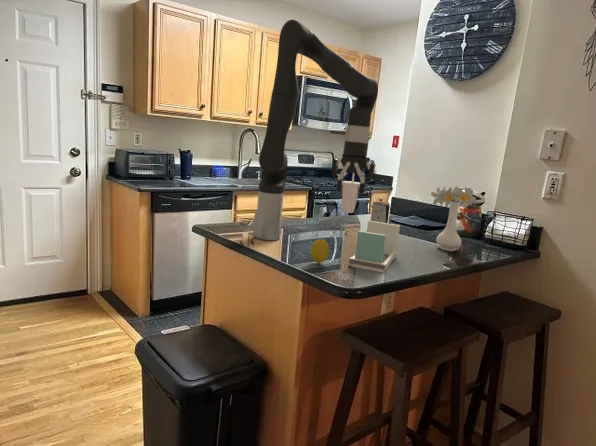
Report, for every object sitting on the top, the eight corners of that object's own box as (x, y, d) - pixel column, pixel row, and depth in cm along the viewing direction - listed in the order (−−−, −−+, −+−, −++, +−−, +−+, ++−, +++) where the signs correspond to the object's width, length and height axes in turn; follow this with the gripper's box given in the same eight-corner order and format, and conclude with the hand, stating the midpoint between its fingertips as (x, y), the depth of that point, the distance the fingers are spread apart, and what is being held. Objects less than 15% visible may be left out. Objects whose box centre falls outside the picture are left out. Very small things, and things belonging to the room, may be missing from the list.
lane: (348, 266, 132) (352, 231, 130) (364, 250, 154) (368, 220, 152) (383, 272, 129) (388, 237, 126) (395, 256, 150) (399, 225, 148)
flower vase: (435, 241, 180) (444, 182, 175) (475, 253, 165) (487, 189, 161) (415, 244, 172) (425, 182, 167) (456, 256, 158) (468, 189, 153)
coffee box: (384, 248, 160) (390, 205, 157) (367, 245, 161) (372, 203, 158) (384, 242, 169) (390, 202, 166) (368, 240, 170) (373, 200, 167)
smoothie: (345, 213, 136) (350, 169, 133) (334, 209, 142) (339, 167, 139) (361, 213, 139) (367, 170, 136) (350, 209, 145) (355, 168, 142)
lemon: (322, 267, 128) (324, 241, 127) (306, 263, 131) (308, 238, 129) (330, 264, 133) (333, 239, 131) (315, 260, 136) (317, 235, 134)
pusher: (354, 262, 133) (357, 231, 131) (354, 261, 134) (358, 230, 132) (380, 267, 130) (385, 235, 128) (381, 266, 131) (385, 235, 129)
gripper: (381, 143, 137) (374, 195, 140) (338, 139, 142) (332, 189, 145) (376, 142, 130) (369, 197, 133) (331, 138, 135) (325, 191, 138)
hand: (350, 192), depth 139 cm, fingers closed on smoothie, 6 cm apart
